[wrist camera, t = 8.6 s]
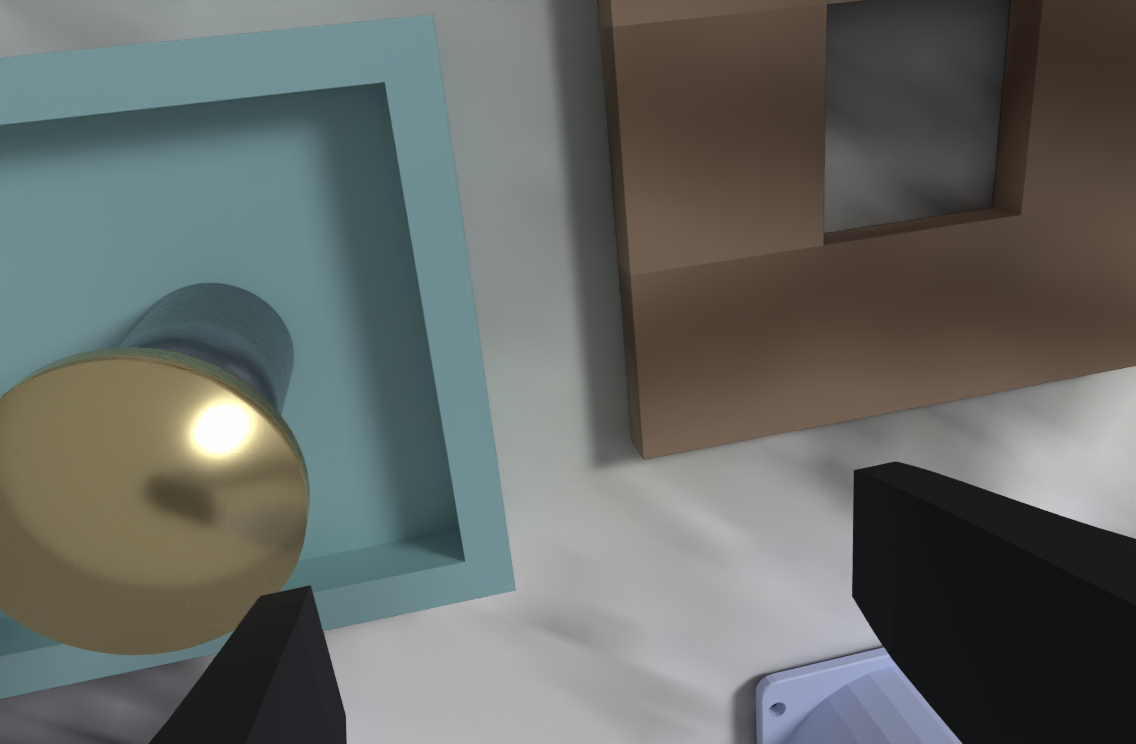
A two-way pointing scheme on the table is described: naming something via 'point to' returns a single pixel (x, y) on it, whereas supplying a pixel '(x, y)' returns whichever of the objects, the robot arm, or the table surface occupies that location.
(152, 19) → the table surface
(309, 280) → the teal tray
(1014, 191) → the walnut socket
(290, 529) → the gunmetal pin
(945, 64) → the table surface
